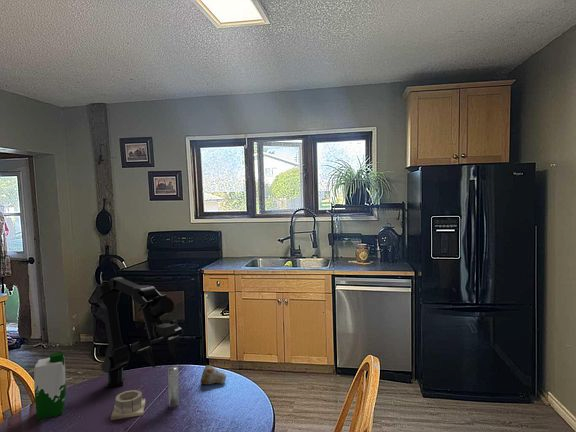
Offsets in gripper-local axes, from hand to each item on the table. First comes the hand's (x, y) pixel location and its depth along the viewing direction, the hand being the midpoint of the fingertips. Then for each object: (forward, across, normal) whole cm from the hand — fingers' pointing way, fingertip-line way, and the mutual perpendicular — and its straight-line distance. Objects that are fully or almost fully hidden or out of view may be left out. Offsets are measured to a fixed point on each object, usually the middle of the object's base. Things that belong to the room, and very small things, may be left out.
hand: (165, 362), depth 136 cm
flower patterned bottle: (+15, +21, +3) cm, 26 cm away
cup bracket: (+11, -10, +13) cm, 19 cm away
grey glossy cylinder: (+15, +1, +3) cm, 15 cm away
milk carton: (+2, -25, +34) cm, 42 cm away
